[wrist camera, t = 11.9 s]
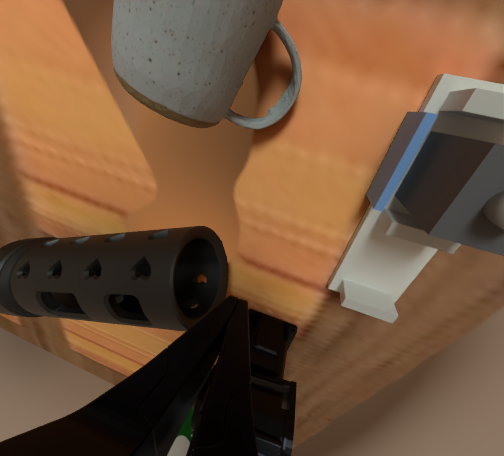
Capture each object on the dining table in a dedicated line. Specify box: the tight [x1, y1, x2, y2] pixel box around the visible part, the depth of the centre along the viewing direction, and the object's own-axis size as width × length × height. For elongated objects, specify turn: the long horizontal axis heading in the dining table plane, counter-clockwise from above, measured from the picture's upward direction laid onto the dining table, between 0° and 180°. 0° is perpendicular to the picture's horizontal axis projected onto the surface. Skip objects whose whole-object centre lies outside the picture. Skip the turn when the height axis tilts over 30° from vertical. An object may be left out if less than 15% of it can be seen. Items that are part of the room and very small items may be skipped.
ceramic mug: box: [111, 0, 302, 129], centre depth 12 cm, size 11×8×8 cm
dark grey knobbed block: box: [395, 131, 504, 256], centre depth 12 cm, size 4×4×7 cm
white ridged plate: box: [328, 74, 504, 323], centre depth 16 cm, size 18×7×3 cm, turn 168°
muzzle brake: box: [0, 226, 228, 331], centre depth 24 cm, size 10×28×10 cm, turn 103°
